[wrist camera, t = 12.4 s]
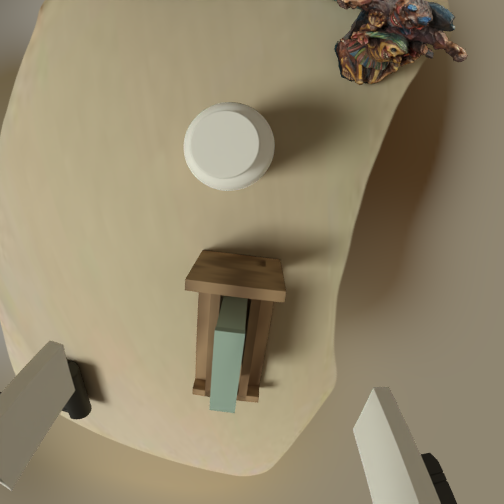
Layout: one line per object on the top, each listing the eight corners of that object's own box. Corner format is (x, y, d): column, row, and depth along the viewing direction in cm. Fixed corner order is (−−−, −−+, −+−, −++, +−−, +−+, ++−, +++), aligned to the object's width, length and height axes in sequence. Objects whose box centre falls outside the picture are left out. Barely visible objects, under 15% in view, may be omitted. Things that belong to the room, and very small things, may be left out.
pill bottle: (282, 161, 36) (297, 163, 22) (225, 194, 37) (204, 216, 23) (249, 106, 34) (242, 73, 20) (192, 140, 35) (151, 129, 21)
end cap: (97, 400, 49) (84, 423, 43) (69, 392, 49) (54, 413, 43) (86, 362, 46) (69, 384, 40) (56, 354, 46) (38, 374, 40)
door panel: (218, 362, 43) (209, 409, 34) (224, 290, 40) (214, 330, 30) (239, 365, 43) (234, 412, 34) (248, 293, 40) (245, 334, 30)
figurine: (335, 110, 33) (405, 68, 16) (304, 48, 31) (346, -30, 14) (403, 89, 33) (490, 54, 15) (373, 32, 30) (441, -30, 13)
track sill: (196, 379, 46) (184, 424, 36) (202, 249, 39) (185, 279, 30) (258, 387, 46) (257, 433, 36) (280, 259, 39) (286, 291, 30)
